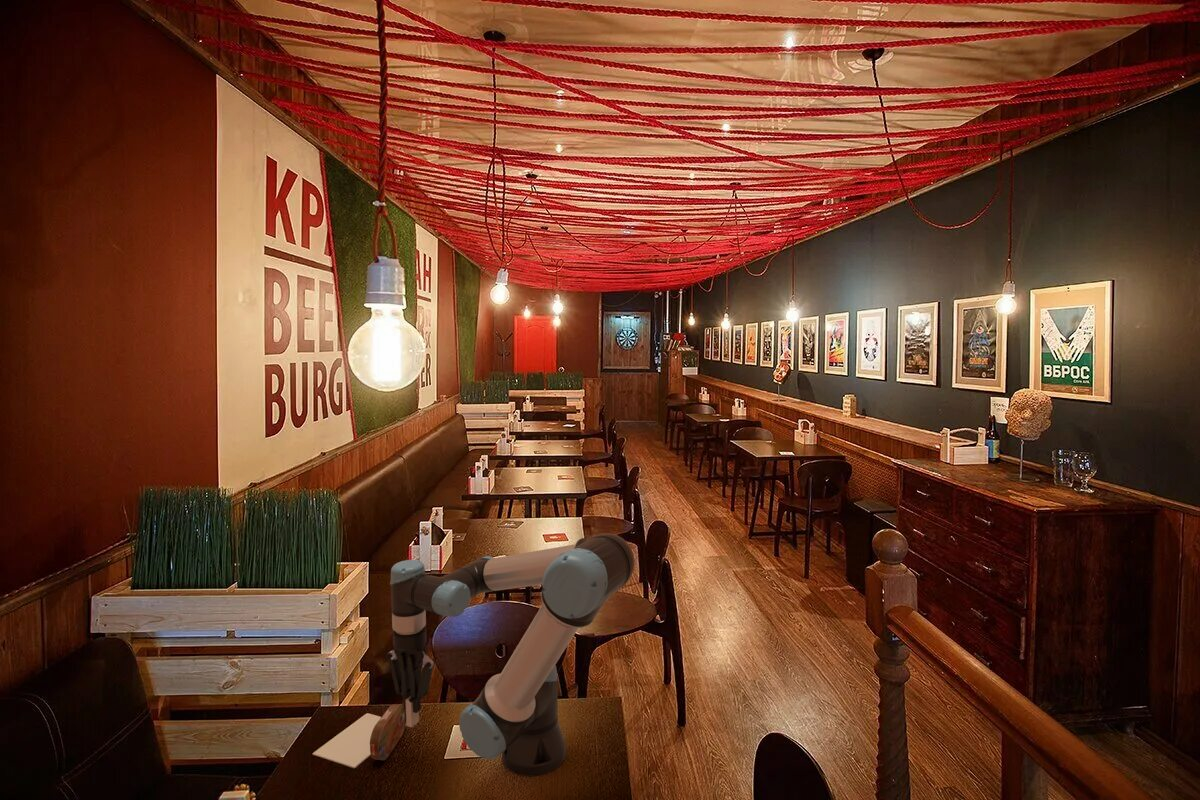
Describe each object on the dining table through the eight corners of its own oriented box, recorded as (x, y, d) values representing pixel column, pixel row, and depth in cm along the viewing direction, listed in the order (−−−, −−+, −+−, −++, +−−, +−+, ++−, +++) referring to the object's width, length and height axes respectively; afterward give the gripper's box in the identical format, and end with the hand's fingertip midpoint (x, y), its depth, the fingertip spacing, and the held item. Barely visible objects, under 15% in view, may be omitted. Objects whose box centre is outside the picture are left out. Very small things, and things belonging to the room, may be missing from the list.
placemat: (406, 725, 167) (406, 724, 167) (354, 768, 151) (354, 767, 151) (367, 714, 172) (367, 713, 172) (312, 754, 156) (312, 753, 156)
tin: (380, 768, 150) (380, 734, 149) (367, 766, 151) (367, 733, 150) (407, 728, 165) (407, 697, 164) (395, 727, 166) (396, 696, 165)
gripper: (442, 626, 152) (445, 721, 155) (398, 616, 158) (401, 708, 160) (421, 640, 146) (425, 739, 148) (376, 629, 151) (380, 725, 153)
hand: (412, 723), depth 154 cm, fingers closed
